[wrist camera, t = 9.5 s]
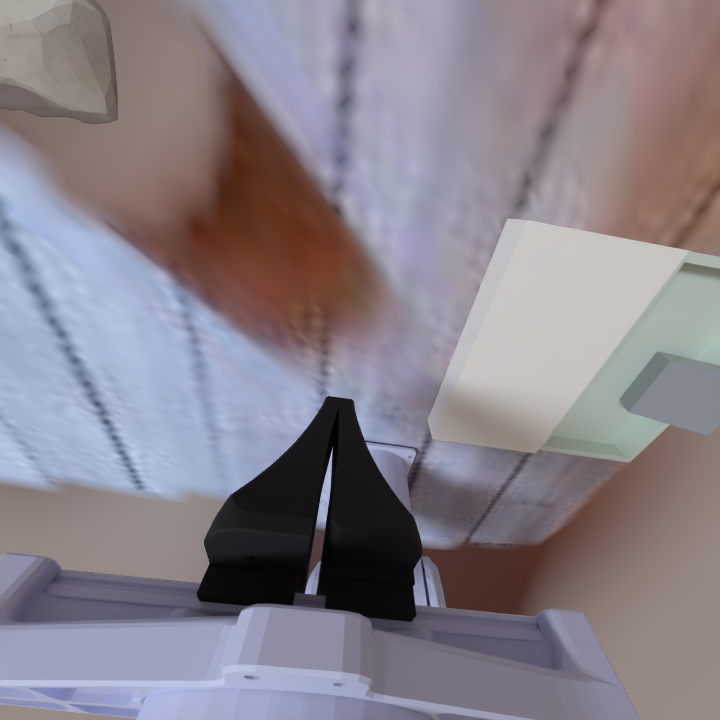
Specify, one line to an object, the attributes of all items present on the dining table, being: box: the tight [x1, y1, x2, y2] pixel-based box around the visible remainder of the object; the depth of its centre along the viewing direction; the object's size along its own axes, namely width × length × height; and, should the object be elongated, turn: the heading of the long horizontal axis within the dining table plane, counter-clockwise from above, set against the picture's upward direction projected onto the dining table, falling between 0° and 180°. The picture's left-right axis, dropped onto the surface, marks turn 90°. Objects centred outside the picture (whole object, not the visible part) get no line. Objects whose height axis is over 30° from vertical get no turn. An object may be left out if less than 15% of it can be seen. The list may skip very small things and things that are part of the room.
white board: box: [427, 219, 689, 454], centre depth 20 cm, size 18×10×2 cm, turn 171°
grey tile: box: [620, 351, 720, 436], centre depth 20 cm, size 5×5×2 cm
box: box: [539, 251, 720, 463], centre depth 21 cm, size 18×10×2 cm, turn 171°
